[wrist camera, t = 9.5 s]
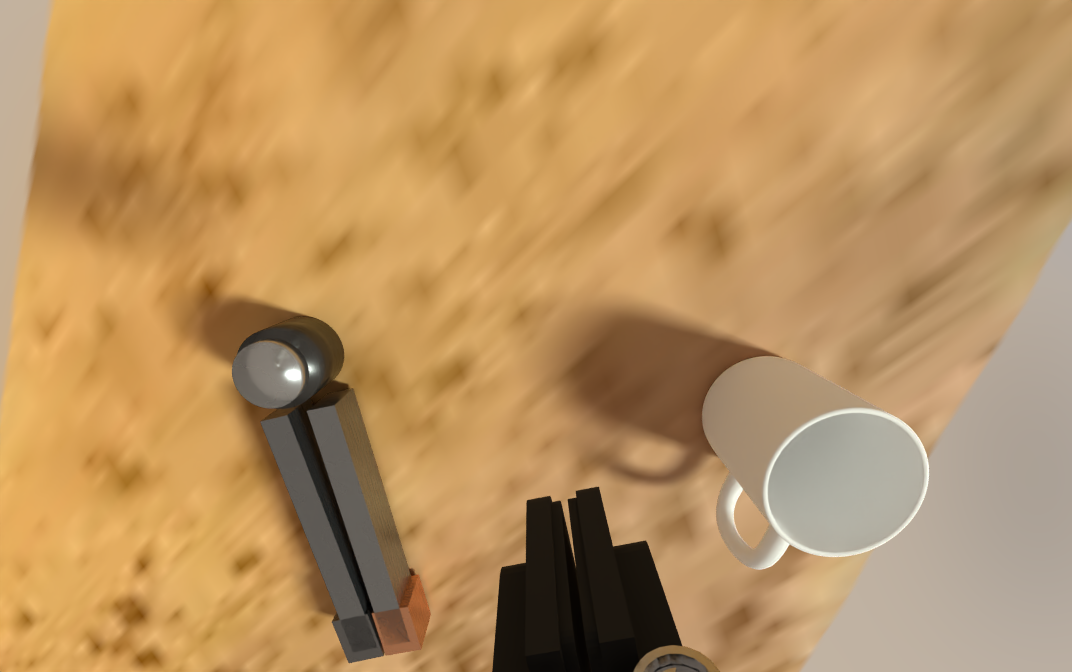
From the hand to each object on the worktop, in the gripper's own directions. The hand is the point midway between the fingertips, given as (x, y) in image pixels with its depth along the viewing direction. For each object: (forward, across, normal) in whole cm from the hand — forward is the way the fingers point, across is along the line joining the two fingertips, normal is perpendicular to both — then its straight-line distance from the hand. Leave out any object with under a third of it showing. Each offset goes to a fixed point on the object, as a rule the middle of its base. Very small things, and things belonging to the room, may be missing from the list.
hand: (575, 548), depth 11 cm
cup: (+22, -12, +11) cm, 28 cm away
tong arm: (+22, +16, +9) cm, 29 cm away
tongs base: (+22, +16, +9) cm, 29 cm away
